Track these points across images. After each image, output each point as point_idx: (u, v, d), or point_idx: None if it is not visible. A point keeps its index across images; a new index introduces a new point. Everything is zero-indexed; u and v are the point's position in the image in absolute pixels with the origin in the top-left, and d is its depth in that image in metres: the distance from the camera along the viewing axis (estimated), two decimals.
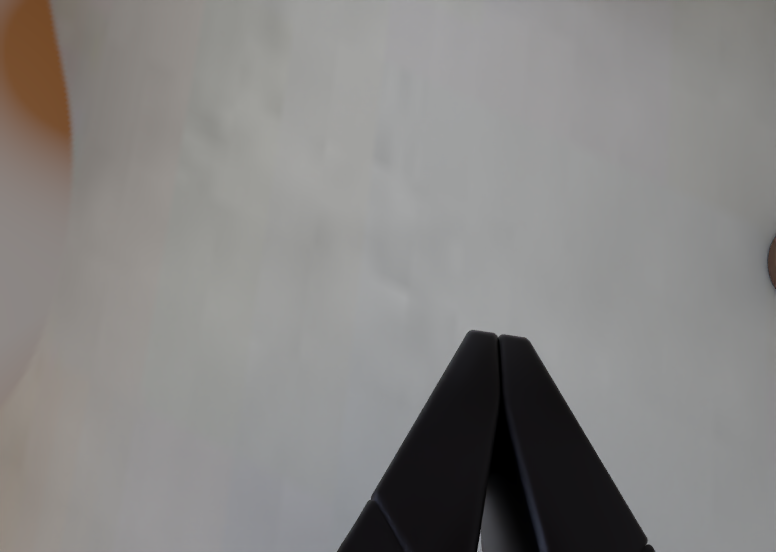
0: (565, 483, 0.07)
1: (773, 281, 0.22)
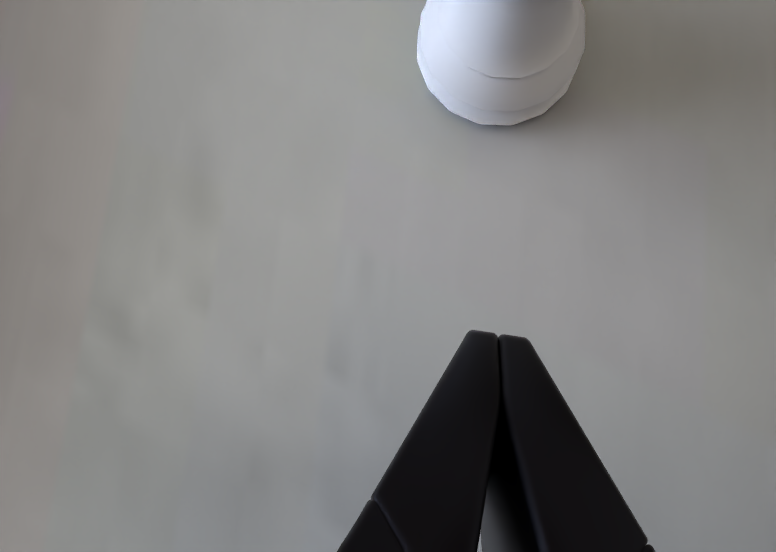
0: (565, 483, 0.07)
1: None
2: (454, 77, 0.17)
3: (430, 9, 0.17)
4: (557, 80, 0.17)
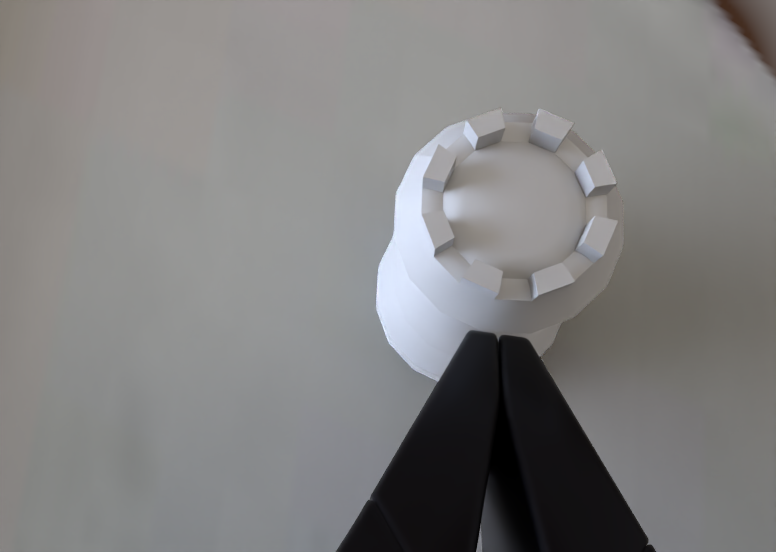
0: (566, 483, 0.07)
1: None
2: (415, 349, 0.14)
3: (388, 268, 0.15)
4: None
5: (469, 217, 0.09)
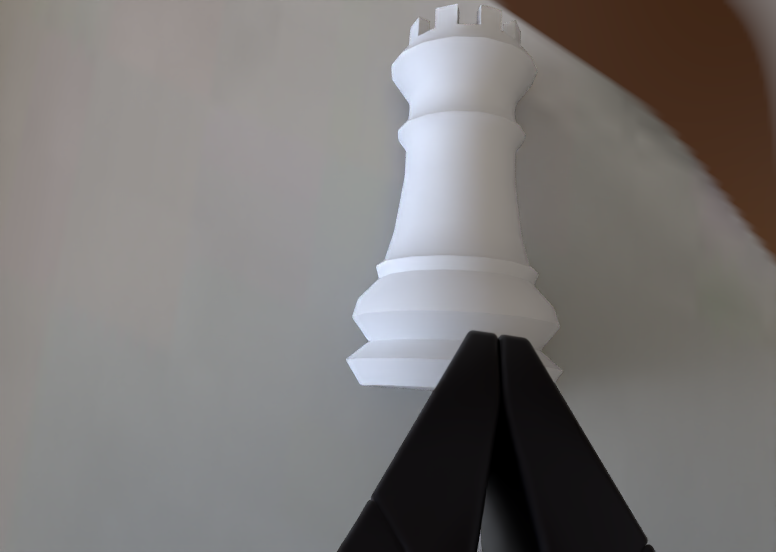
0: (565, 483, 0.07)
1: None
2: (396, 285, 0.13)
3: None
4: (531, 297, 0.13)
5: None
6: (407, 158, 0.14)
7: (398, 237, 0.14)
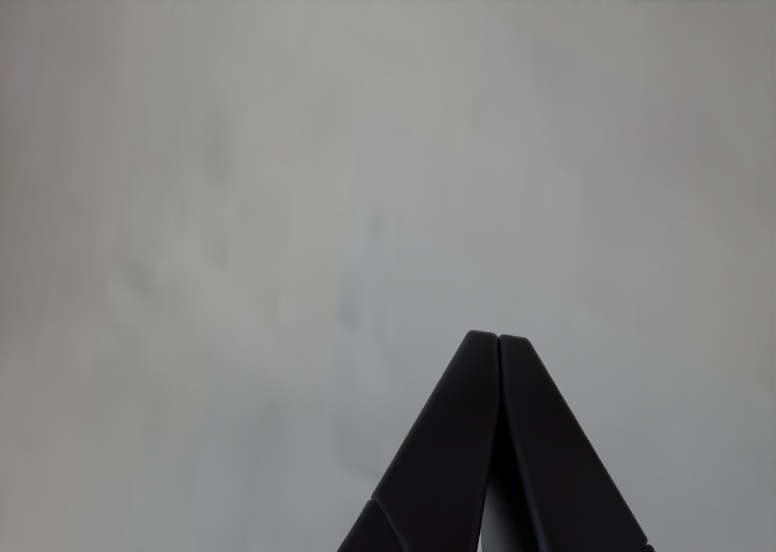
0: (565, 483, 0.07)
1: None
2: None
3: None
4: None
5: None
6: None
7: None
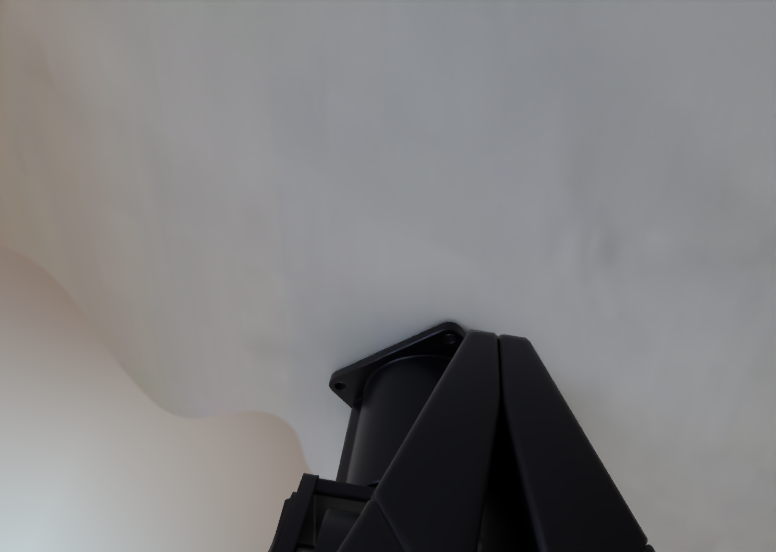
0: (565, 483, 0.07)
1: None
2: None
3: None
4: None
5: None
6: None
7: None
